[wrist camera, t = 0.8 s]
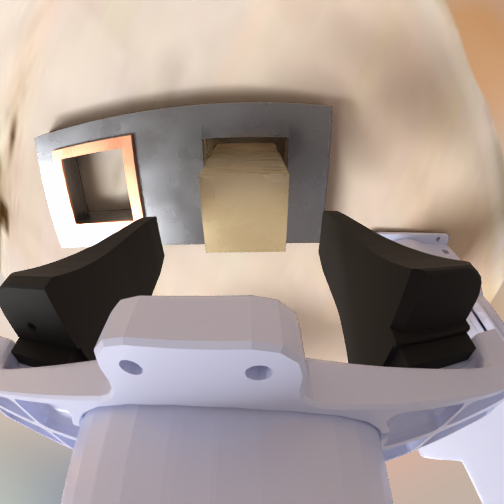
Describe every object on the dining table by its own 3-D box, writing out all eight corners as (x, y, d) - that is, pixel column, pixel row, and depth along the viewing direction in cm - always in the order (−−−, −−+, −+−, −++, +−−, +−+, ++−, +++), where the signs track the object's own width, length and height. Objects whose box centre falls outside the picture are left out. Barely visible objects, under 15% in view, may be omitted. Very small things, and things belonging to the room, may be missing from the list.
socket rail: (324, 104, 17) (333, 106, 15) (315, 230, 23) (321, 244, 21) (48, 132, 17) (32, 138, 15) (71, 236, 22) (59, 249, 20)
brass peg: (274, 142, 19) (289, 174, 12) (273, 194, 21) (285, 251, 14) (217, 143, 19) (198, 176, 12) (219, 195, 21) (205, 252, 14)
